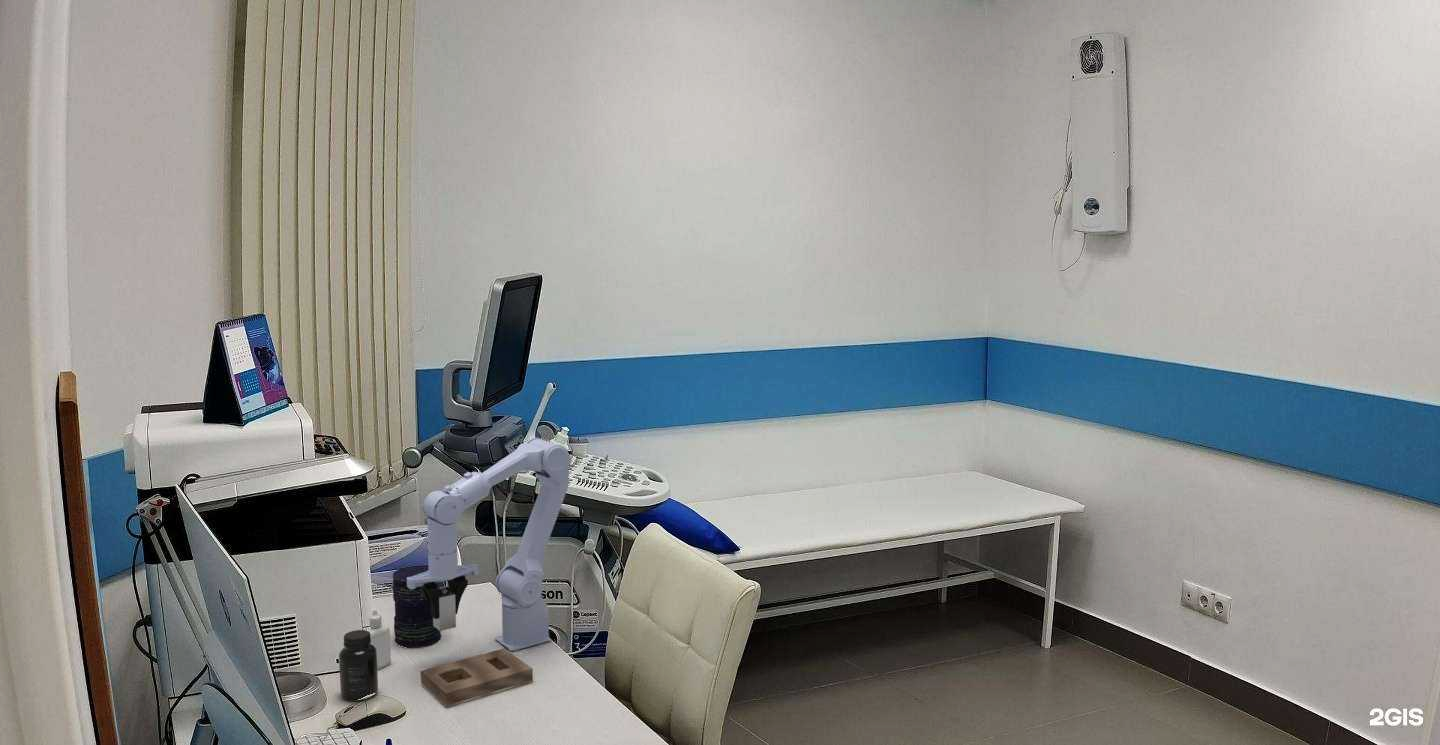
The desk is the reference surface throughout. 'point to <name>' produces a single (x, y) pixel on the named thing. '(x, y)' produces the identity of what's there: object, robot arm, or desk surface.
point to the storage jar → (412, 611)
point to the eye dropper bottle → (380, 640)
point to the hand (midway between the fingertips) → (444, 615)
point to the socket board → (476, 677)
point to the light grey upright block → (446, 610)
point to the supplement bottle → (358, 666)
